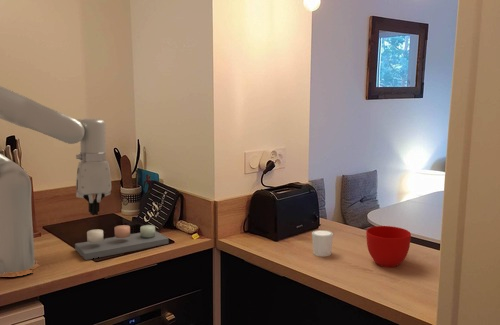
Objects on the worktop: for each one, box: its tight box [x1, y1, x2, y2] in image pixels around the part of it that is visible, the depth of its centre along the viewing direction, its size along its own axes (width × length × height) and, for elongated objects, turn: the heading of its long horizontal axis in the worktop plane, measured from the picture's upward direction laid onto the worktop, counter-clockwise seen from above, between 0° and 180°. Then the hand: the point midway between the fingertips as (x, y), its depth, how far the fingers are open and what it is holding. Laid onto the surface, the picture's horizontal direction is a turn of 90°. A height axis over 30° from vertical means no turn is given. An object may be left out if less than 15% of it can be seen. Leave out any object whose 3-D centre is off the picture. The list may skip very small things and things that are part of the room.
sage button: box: [139, 224, 156, 238], centre depth 159 cm, size 5×5×3 cm
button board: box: [74, 230, 170, 261], centre depth 154 cm, size 28×12×2 cm, turn 125°
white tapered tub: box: [311, 229, 334, 257], centre depth 148 cm, size 7×7×7 cm
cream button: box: [86, 228, 105, 243], centre depth 148 cm, size 5×5×3 cm
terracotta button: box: [114, 224, 131, 238], centre depth 154 cm, size 5×5×3 cm
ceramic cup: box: [365, 225, 412, 268], centre depth 141 cm, size 13×17×10 cm
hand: (94, 214), depth 147 cm, fingers closed
